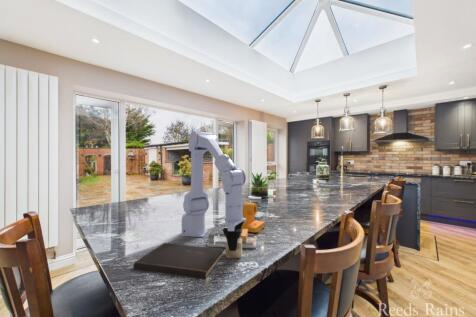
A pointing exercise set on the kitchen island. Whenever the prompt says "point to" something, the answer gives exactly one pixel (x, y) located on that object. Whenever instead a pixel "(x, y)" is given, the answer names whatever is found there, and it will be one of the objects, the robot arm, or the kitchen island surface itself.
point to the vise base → (220, 240)
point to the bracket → (251, 218)
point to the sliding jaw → (244, 235)
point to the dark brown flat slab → (180, 260)
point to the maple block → (235, 253)
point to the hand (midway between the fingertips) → (234, 245)
